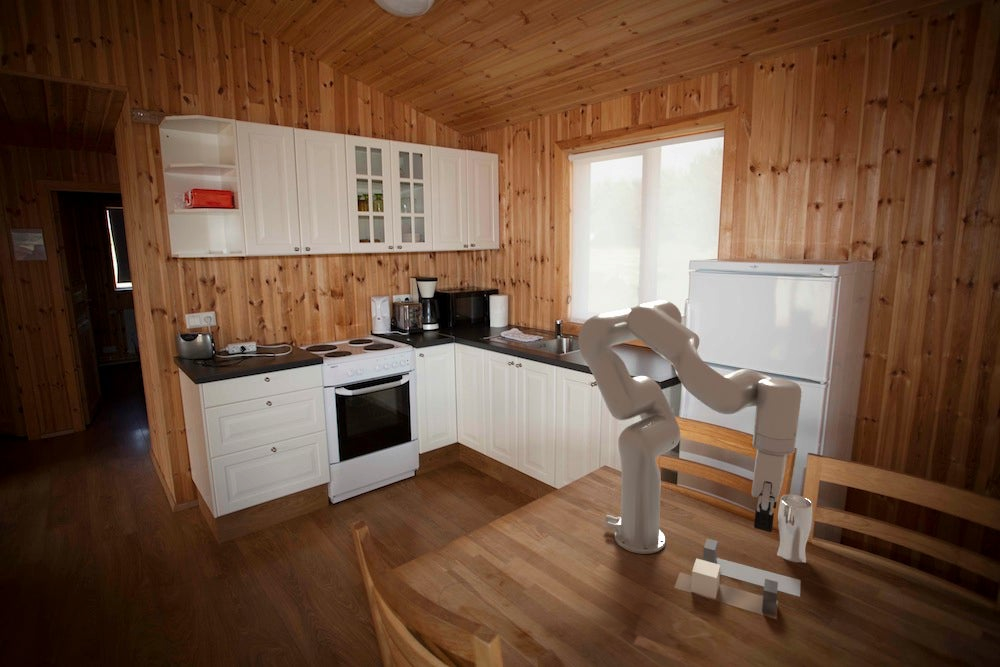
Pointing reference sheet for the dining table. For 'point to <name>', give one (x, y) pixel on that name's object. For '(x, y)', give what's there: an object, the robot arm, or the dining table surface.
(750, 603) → the brown long piece
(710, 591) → the cream block
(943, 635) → the dining table surface
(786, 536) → the beer glass
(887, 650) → the dining table surface
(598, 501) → the dining table surface
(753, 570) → the grey strip
